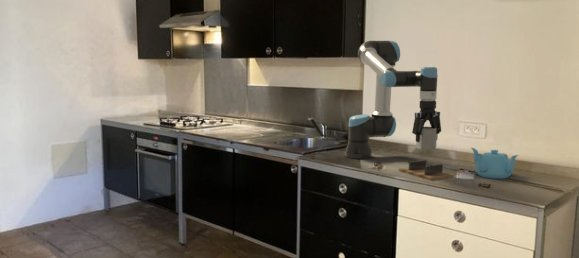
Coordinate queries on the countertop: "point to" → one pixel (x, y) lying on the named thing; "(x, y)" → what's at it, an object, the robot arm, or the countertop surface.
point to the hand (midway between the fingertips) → (426, 147)
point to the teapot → (493, 164)
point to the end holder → (426, 170)
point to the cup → (428, 138)
